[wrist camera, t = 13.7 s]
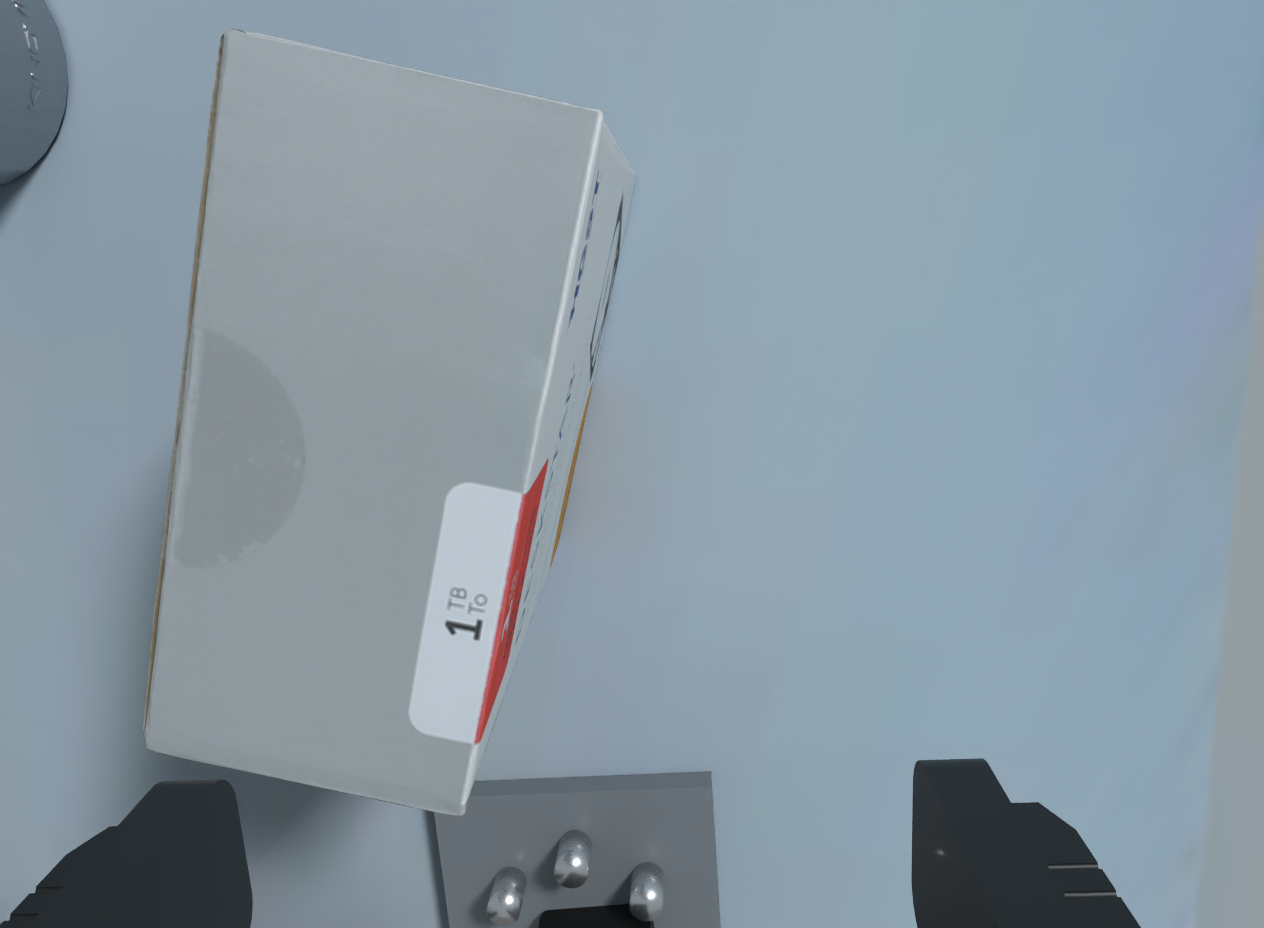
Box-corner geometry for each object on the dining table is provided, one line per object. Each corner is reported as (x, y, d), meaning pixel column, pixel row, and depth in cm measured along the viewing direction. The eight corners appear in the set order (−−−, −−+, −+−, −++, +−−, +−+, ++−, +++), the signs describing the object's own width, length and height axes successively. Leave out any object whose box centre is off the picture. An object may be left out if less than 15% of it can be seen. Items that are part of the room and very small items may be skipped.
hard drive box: (562, 549, 41) (459, 837, 22) (381, 509, 41) (119, 762, 22) (643, 166, 38) (605, 107, 18) (444, 121, 38) (195, 16, 18)
